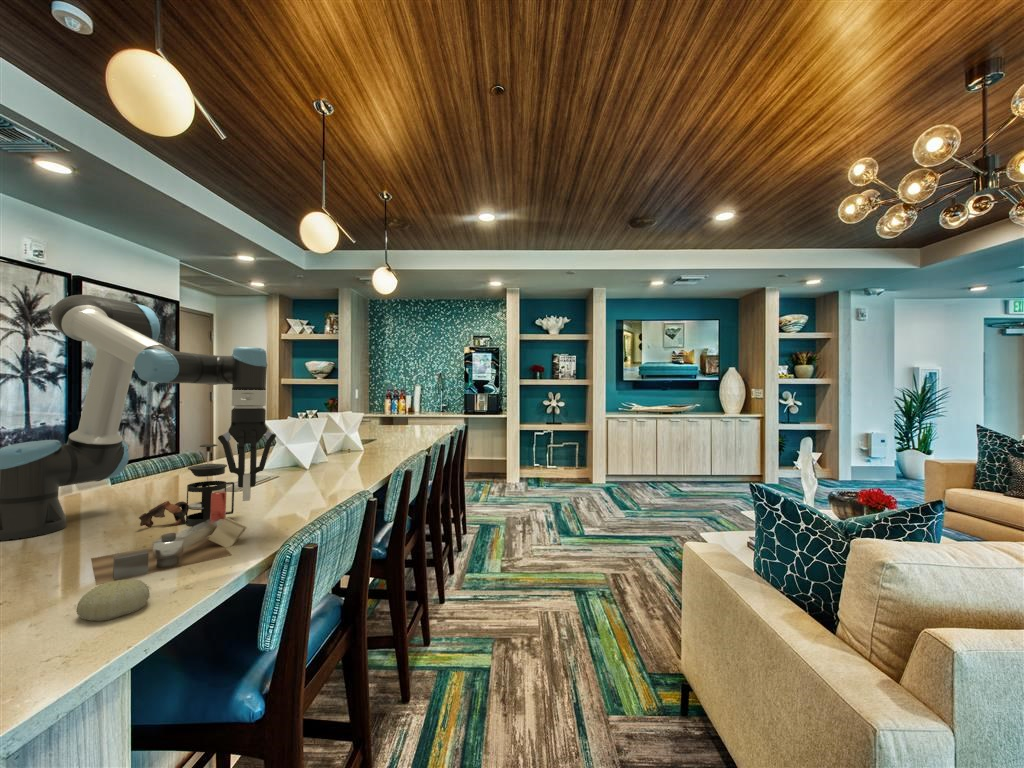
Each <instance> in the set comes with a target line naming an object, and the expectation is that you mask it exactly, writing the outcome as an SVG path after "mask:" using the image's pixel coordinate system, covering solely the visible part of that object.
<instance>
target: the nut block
mask: <svg viewBox="0 0 1024 768" xmlns="http://www.w3.org/2000/svg"><path fill="white" fill-rule="evenodd" d="M246 529H247V526H246V525H243V524H242V523H239V522H238V521H236V520H233V519H232V518H229V517H226V519H223V520H222V521H221V522H220V524H219V525H218V527H217V528H216V529H215V531H214V532H213V533H212V535H210V538H209V539H208V540H211V541H213V542H215V543H217V544H219V545H221V546H223V547H225V548H229V547H232V546H233V545H234V544H235V543H236V542H238V540H239V539H240V538H241V536H242V535H243V534H244V533H245V531H246Z"/></svg>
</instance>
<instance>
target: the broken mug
mask: <svg viewBox="0 0 1024 768" xmlns="http://www.w3.org/2000/svg"><path fill="white" fill-rule="evenodd" d="M186 504H187V501H186V502H185V501H184V500H183V501H182V500H181V501H178V502H176V503H175V504H173V503H170V501H169V500H168V501H164V502H162V503H160V504H158V505H156V506H155V507H153V508H151V509H150V510H148V512H147V513H143V514H142V515H140V516H139V517H138V519H139V520H140V522H139V523H140V524H139V525H140V527H143V526H145V527H147V528H148V527H150V528H151V527H153V525H155V524H154V522H153V518H159V519H161V518H165V517H166V515H165V512H166V511H165V510H167V511H168V512H169V513H171V514H172V515H173V517H174V519H175V522H174V523H173V524H172V525H173V526H174V527H177V526H183V525H186ZM189 510H190V509H188V511H189Z"/></svg>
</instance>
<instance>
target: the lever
mask: <svg viewBox="0 0 1024 768" xmlns="http://www.w3.org/2000/svg"><path fill="white" fill-rule="evenodd" d="M226 508H227V491H226V492H225V490H224V491H221V490H219V491H212V493H211V507H210V519H209V520H206V521H204V522H202V523H200V524H198V525H195V526H193V527H191V526H190V527H189V528H187V529H184V530H182V531H180V532H178V533H176V539H175V540H172V541H161V538H159V539H156V540H154V541H153V543H152V547H153V559H168V558H173V557H176V556H179V555H181V554H182V553H183V549H185V548H186V547H188V546H190V545H192V544H194V543H196V542H198V541H200V540H202V539H204V538H206V537H209V536H211V535H212V533H213V532H214V531H215V529H216V528H217V527H218V525H219V524H220V522H221V521H222V520H223V519H226V518H227V516H226V515H227V514H226V512H227V509H226Z"/></svg>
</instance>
